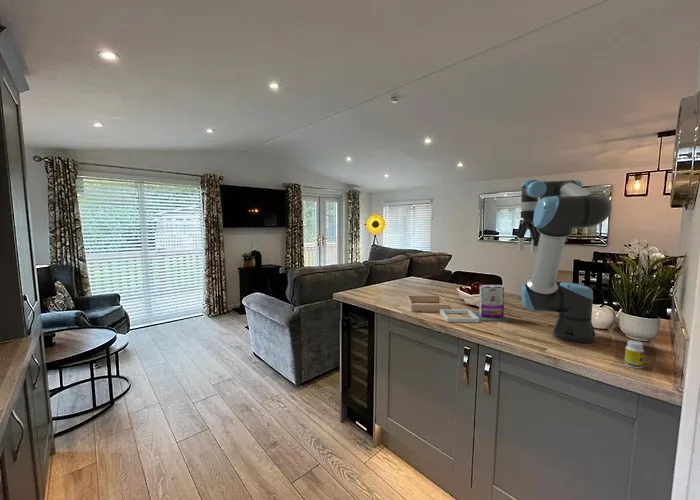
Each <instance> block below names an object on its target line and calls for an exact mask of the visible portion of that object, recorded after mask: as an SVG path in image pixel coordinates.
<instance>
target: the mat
mask: <svg viewBox="0 0 700 500" xmlns="http://www.w3.org/2000/svg"><path fill="white" fill-rule="evenodd" d="M472 312H473V313H474V314H475V315H476V316H477V317H478V318H479V321H481V322H511V319H509V318H508V317H507V316H505V315H504V316H503V317H481V315H480V314H479V311H472Z"/></svg>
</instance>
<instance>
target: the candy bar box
mask: <svg viewBox="0 0 700 500" xmlns="http://www.w3.org/2000/svg"><path fill="white" fill-rule="evenodd" d="M504 299H505V286H503V285H502V284H479V303H478V304H479V309H478V310H479V311H478V312H479V314H480V315H481V317H503V316H505V315H504V307H505V306H504V305H505V300H504Z"/></svg>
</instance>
